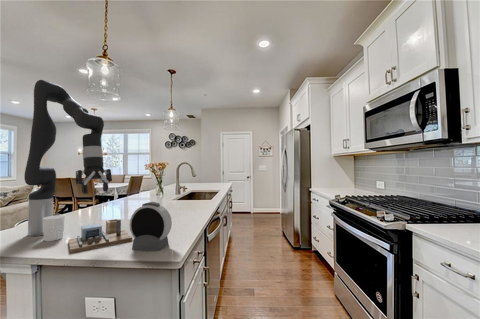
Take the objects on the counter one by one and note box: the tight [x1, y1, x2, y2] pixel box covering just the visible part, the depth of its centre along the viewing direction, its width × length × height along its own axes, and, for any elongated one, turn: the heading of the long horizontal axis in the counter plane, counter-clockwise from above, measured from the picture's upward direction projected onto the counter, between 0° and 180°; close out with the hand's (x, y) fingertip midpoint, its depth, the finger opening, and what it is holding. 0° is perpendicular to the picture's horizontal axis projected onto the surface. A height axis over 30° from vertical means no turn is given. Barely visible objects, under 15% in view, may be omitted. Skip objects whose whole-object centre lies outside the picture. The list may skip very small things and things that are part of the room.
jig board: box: [67, 219, 133, 254], centre depth 98 cm, size 15×22×8 cm
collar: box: [105, 218, 120, 233], centre depth 112 cm, size 6×6×6 cm
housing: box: [80, 223, 103, 241], centre depth 99 cm, size 6×7×5 cm
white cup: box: [42, 214, 66, 242], centre depth 102 cm, size 8×8×10 cm
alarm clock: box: [129, 201, 173, 252], centre depth 92 cm, size 16×10×18 cm, turn 82°
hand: (95, 192), depth 100 cm, fingers open, 8 cm apart
